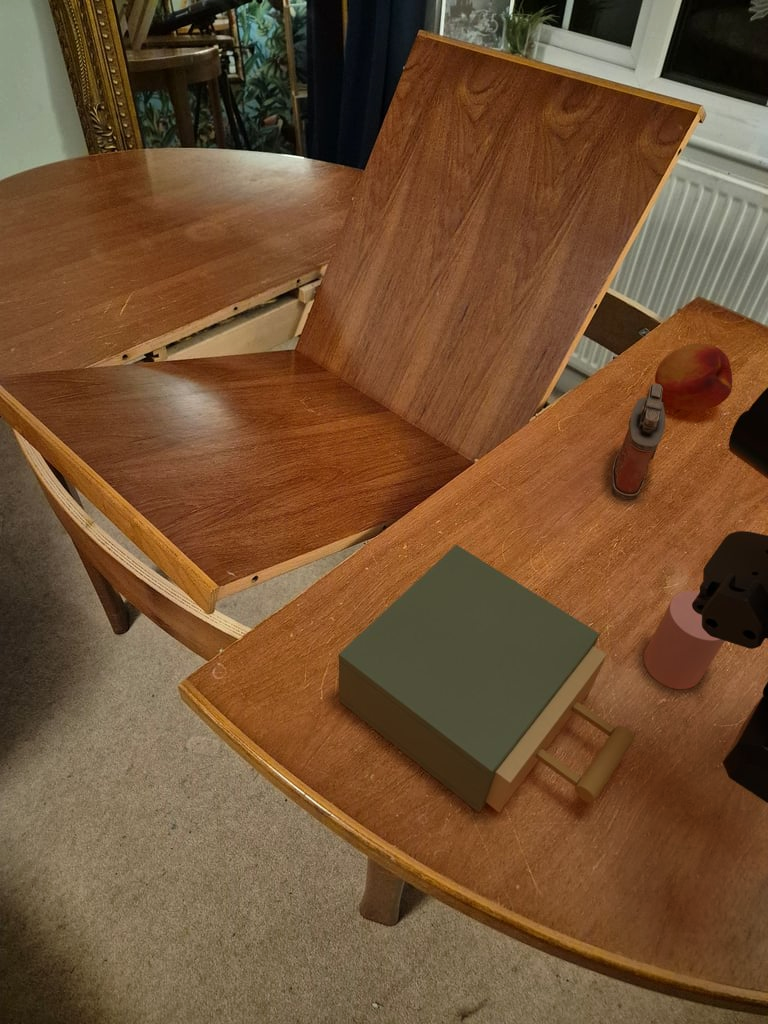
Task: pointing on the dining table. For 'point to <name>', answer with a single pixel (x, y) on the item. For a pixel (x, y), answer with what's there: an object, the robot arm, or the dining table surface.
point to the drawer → (547, 730)
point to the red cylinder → (680, 645)
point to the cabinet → (461, 670)
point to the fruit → (695, 377)
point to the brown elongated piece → (638, 445)
